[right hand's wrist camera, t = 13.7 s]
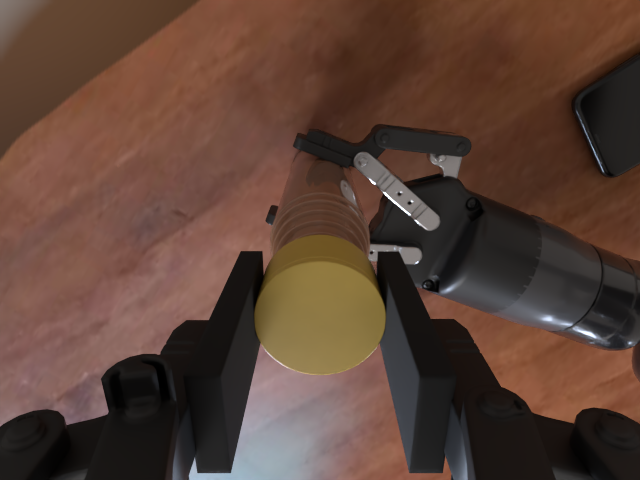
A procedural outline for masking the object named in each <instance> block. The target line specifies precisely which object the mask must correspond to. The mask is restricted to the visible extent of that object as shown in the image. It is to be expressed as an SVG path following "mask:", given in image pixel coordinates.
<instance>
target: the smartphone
mask: <svg viewBox="0 0 640 480" xmlns="http://www.w3.org/2000/svg"><path fill="white" fill-rule="evenodd" d="M572 110H573V113H574V115H575V117H576V120H577V122H578V124H579V126H580V129H581V131H582V133H583V135H584V138H585V140H586V142H587V144H588V147H589V149H590V151H591V153H592V156H593V158H594V160H595V162H596V165H597V167H598V169H599V171H600V173H601V174H602V175H604V176H605V177H609V178H613V177H617V176H619V175H621V174H623V173H625V172H627V171H628V170H630V169H632V168H633V167H635V166H637V165H639V164H640V53H638V54H636V55H634V56H633V57H631V58H630V59H628V60H627V61H625V62H623V63H622V64H620V65H619V66H617V67H616V68H615V69H613V70H612V71H610V72H608V73H607V74H605V75H604V76H602V77H601V78H599V79H597V80H596V81H594V82H593V83H591V84H590V85H588V86H586V87H585V88H583V89H582V90H580V91H579V92H578V93H577V94H576V95H575V97H574V98H573V101H572Z"/></svg>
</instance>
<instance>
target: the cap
mask: <svg viewBox="0 0 640 480" xmlns="http://www.w3.org/2000/svg"><path fill="white" fill-rule="evenodd" d="M254 320H255V330H256V333H257V336H258V339H259V341H260V343H261V344H262V346H263V347H264V349H265V350H266V351H267V352H268V354H269V355H270V356H271V357H273V358H274V359H275V360H276V361H278V362H279V363H280V364H282V365H284V366H286V367H287V368H289V369H292V370H295V371H297V372H301V373H305V374H312V375H328V374H335V373H339V372H342V371H346V370H348V369H350V368H353V367H354V366H356V365H358V364H360V363H361V362H362V361H364V360H365V359H366V358H367V357H369V356H370V355H371V354H372V352H373V351H374V350H375V349H376V347H377V346H378V344H379V343H380V341H381V339H382V336H383V334H384V330H385V321H386V310H385V305H384V301H383V298H382V294H381V291H380V287H379V284H378V280H377V277H376V274H375V271H374V268H373V266H372V264H371V262H370V260H369V259H368V257H367V256H366V255H365V254H364V253H363V252H362V251H361V250H360V249H359V248H358V247H357V246H355V245H354V244H352V243H350V242H348V241H346V240H344V239H342V238H338V237H335V236H330V235H310V236H305V237H302V238H299V239H296V240H294V241H292V242H290V243H288V244H286V245H285V246H283V247H282V248H281V249H280V250H279V251H278V252H277V253H276V254H275V255H274V256H273V257H272V259H271V260H270V262H269V264H268V266H267V268H266V271H265V274H264V277H263V281H262V284H261V287H260V291H259V294H258V298H257V301H256V305H255V310H254Z"/></svg>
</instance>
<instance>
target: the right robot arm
mask: <svg viewBox="0 0 640 480" xmlns="http://www.w3.org/2000/svg"><path fill="white" fill-rule="evenodd" d="M263 277H264V272H263V254H262V251H241V252H240V254H239V257H238V259H237V261H236V263H235V265H234V267H233V269H232V272H231V274H230V276H229V278H228V280H227V282H226V284H225V287H224V289H223V291H222V293H221V295H220V297H219V300H218V302H217V304H216V306H215V308H214V310H213V312H212V315H211V317H210V319H209V320H186V321H185V322H184V323H182V324H181V325H180V326H178V327H177V328H176V329H175V330H173V332H172V334H171V335H170V337H169V339H168V340H167V342H166V345H165V346H164V347H163V349H162V351H161V354H160V355H157V354H141V355H137V356H132V357H129V358H127V359H124V360H122V361H120V362H118V363H116V364H115V365H114V366H112V367H111V368H109V369H108V370H107V371H106V373H105V374H104V375H103V377H102V378H101V381H102V385H103V389H104V393H105V398H106V402H107V406H108V410H109V413H108V414H107V415H105V416H102V417H98V418H95V419H91V420H87V421H82V422H78V423H74V424H70V425H66V422H65V419H64V417H63V416H62V415H61V414H60V413H59V412H58V411H53V410H48V409H46V410H37V411H32V412H29V413H26V414H23V415H20V416H18V417H16V418H14V419H12V420H10V421H8V422H7V423H5V424H3V425H2V426H1V427H0V480H189V473H190V470H191V467H192V464H193V461H194V458H195V460H196V466H197V473H231V470H232V465H233V461H234V456H235V452H236V448H237V443H238V439H239V434H240V430H241V426H242V421H243V417H244V412H245V408H246V404H247V399H248V395H249V390H250V386H251V382H252V377H253V373H254V369H255V364H256V360H257V355H258V351H259V347H260V341H259V339H258V336H257V333H256V330H255V320H254V310H255V305H256V301H257V298H258V294H259V291H260V287H261V284H262V281H263ZM376 277H377V280H378V284H379V287H380V291H381V294H382V298H383V301H384V305H385V310H386V321H385V330H384V334H383V336H382V339H381V341H380V346H381V351H382V355H383V359H384V364H385V368H386V372H387V377H388V381H389V386H390V390H391V394H392V399H393V403H394V408H395V412H396V416H397V421H398V425H399V430H400V434H401V438H402V443H403V447H404V451H405V456H406V460H407V465H408V469H409V473H443V467H444V460H445V455H446V458H447V461H448V464H449V467H450V470H451V473H452V475H451V480H640V424H639V423H637V422H636V421H634V420H632V419H630V418H628V417H626V416H624V415H623V414H620V413H617V412H614V411H611V410H608V409H601V408H589V409H584V410H582V411H581V412H580V413H579V414H578V415H577V416H576V419H575V423H574V424H573V423H569V422H565V421H561V420H556V419H552V418H548V417H544V416H541V415H538V414H534V413H532V412H531V410H530V408H529V407H528V405H527V404H526V402H525V401H524V400H523V399H521V398H520V397H519V396H518V395H517V394H515V393H513V392H511V391H509V390H507V389H505V388H503V387H501V386H500V384H499V383H498V381H497V379H496V377H495V376H494V374H493V372H492V371H491V369H490V367H489V366H488V364H487V362H486V361H485V359H484V357H483V356H482V354H481V353H480V350H479V349H478V347H477V345H476V344H475V343H474V340H473V339H472V337H471V335H470V334H469V332H468V330H467V329H466V328H465V327H463V326H462V325H461V324H460V323H458V322H457V321H456V320H454V319H430V317H429V314H428V312H427V310H426V308H425V306H424V304H423V301H422V299H421V297H420V295H419V293H418V291H417V289H416V286H415V284H414V282H413V280H412V278H411V276H410V273H409V271H408V269H407V267H406V265H405V263H404V261H403V258H402V256H401V254H400V252H399V251H378V256H377V274H376Z"/></svg>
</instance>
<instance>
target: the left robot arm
mask: <svg viewBox="0 0 640 480" xmlns="http://www.w3.org/2000/svg"><path fill="white" fill-rule="evenodd" d="M293 147H295V148H297V149H299V150H301V151H304V152H307V153H309V154H312V155H314V156H317V157H319V158H322V159H324V160H327V161H329V162H332V163H335V164H337V165H339V166H342V167H344V168H347V169H348V168H349V165H350V166H352V167H355V168H356V169H357V170H358V171H360V172H361V173H362V174H363V175H364V176H365V177H367V178H368V179H369V180H370V181H371V182H372V183H374V184H375V185H376V186H377V187H378V188H379V189H380V190H381V191H382V192H383V193H384V194H383V196H382V198H381V200H380V206H379V211H378V213H377V214H376V215H375V216H374V217H373V219H372V220H371V222H370V224H369V226H368V228H369V233H370V251H371V252H369V257H368V259H369V260H370V261H377V256H378V251H399V252H400V254H401V256H402V258H403V261H404V263H405V265H406V267H407V269H408V271H409V273H410V276H411V278H412V280H413V282H414V284H415V286H416V287H418V288H423V289H425V290H427V291H429V292H432V293H434V294H437V295H439V296H442V297H445V298H448V299H450V300H453V301H456V302H459V303H461V304H464V305H467V306H470V307H473V308H475V309H478V310H481V311H484V312H486V313H489V314H492V315H495V316H497V317H500V318H503V319H506V320H508V321H511V322H515V323H518V324H521V325H525V326H530V327H535V328H540V329H543V330H546V331H549V332H552V333H554V334H557V335H560V336H563V337H565V338H568V339H571V340H574V341H576V342H580V343H582V344H585V345H587V346H590V347H593V348H597V349H602V350H607V351H619V350H625V349H628V348H631V347H633V352H632V368H633V371H634V374H635V376H636V377H637V379H638V380H639V382H640V261H637V260H633V259H628V258H625V257H622V256H620V255H617V254H615V253H613V252H610V251H608V250H605V249H603V248H600V247H598V246H595V245H593V244H590V243H588V242H585V241H583V240H581V239H579V238H577V237H576V236H574V235H572V234H571V233H569V232H567V231H566V230H564V229H562V228H560V227H558V226H555V225H553V224H550V223H548V222H546V221H545V220H543V219H542V218H540V217H537V216H534V215H528V214H526V213H523V212H521V211H518V210H516V209H513V208H511V207H509V206H506V205H504V204H501V203H499V202H496V201H494V200H491V199H489V198H486V197H484V196H481V195H479V194H476V193H474V192H471V191H469V190H467V189H466V188H465V187H464V186H463V184H462V183H461V181H460V180H458V179H457V176H458V172H459V168H460V163H461V159H462V157H463V156H465V155H467V154H468V153H469V152H470V150H471V142H470V140H469V139H467V138H465V137H463V136H460V135H458V134H455V133H452V132H443V131H435V130H426V129H417V128H409V127H400V126H392V125H383V124H378V125H375V126H374V127H373V128H372V130H371V132H370V133H369V134H368V135H367V136H366V138H365V139H364V140H363V141H361V142H359V143H351V142H348V141H346V140H343V139H341V138H338V137H336V136H333V135H331V134H329V133H326V132H324V131H321V130H319V129H309V131H308V134H307V136H306V135H304V134H301V133H298V134H297V136H296V139H295V142H294V144H293ZM385 149H395V150H403V151H412V152H421V153H426V156H427V159H428V160H429V161H430V162H431V163H433V164H434V165H437V166H438V167H439V169H440V173H439V174H435V175H431V176H427V177H423V178H419V179H415V180H411V181H407V182H404V181H403V180H401V179H400V178H399V177H398V176H397V175H396V174H395V173H394V172H392V171H391V170H390V169H389V168H388V167H387V166H386V165H384V164H383V163H382V162H381V161H380V160H378V159H377V158H378V157H379V156H380V155H381V153H382V152H383V151H384V150H385ZM277 209H278V206H275V205H272V206H271V207H270V210H269V212H268V215H267V218H266V222H267V223H268V224H270V225H273V222H274V219H275V216H276V213H277Z"/></svg>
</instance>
